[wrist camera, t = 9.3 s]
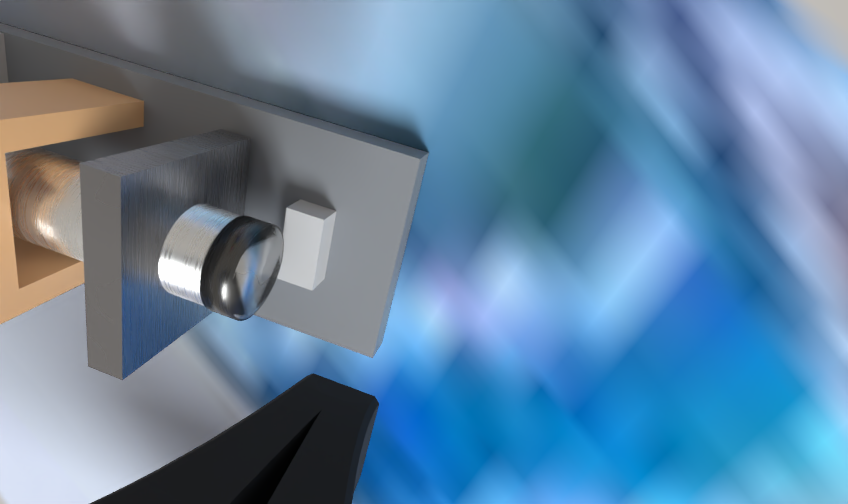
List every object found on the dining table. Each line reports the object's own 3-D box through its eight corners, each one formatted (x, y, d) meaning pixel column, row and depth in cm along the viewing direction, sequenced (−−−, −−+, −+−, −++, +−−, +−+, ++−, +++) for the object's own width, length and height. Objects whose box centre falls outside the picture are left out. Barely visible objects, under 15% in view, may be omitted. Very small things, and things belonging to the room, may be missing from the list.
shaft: (313, 157, 15) (206, 205, 10) (290, 313, 17) (193, 407, 13) (-43, 46, 17) (-268, 46, 12) (-22, 201, 19) (-206, 249, 14)
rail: (428, 152, 15) (364, 202, 10) (382, 342, 18) (314, 452, 13) (-78, -1, 18) (-324, -19, 13) (-48, 188, 21) (-240, 233, 16)
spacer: (79, 231, 19) (-98, 299, 14) (72, 78, 16) (-142, 92, 11) (141, 254, 18) (-16, 332, 13) (143, 101, 16) (-45, 125, 11)
